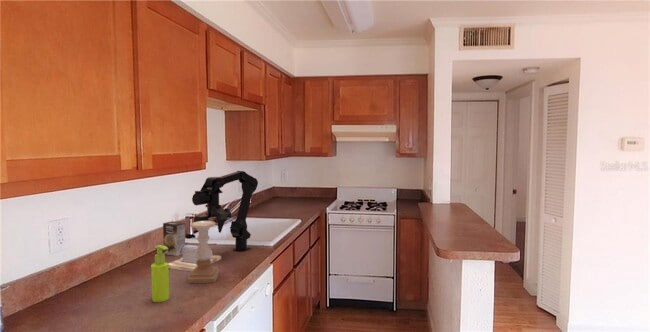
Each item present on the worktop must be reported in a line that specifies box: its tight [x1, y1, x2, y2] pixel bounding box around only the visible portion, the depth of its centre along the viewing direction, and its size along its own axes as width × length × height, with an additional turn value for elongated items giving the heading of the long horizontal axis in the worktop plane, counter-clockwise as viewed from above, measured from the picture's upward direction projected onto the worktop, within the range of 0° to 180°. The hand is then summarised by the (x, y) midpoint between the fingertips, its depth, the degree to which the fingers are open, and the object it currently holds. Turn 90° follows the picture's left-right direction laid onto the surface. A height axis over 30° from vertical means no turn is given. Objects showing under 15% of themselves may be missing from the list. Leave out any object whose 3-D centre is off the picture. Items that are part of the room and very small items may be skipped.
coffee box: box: [162, 220, 186, 257], centre depth 197 cm, size 9×6×16 cm
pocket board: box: [168, 254, 222, 273], centre depth 182 cm, size 20×16×2 cm
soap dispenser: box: [150, 244, 170, 303], centre depth 140 cm, size 6×7×20 cm
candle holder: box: [187, 220, 220, 284], centre depth 161 cm, size 11×11×24 cm
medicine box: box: [181, 244, 199, 264], centre depth 180 cm, size 8×4×9 cm, turn 69°
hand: (213, 234), depth 189 cm, fingers open, 8 cm apart
